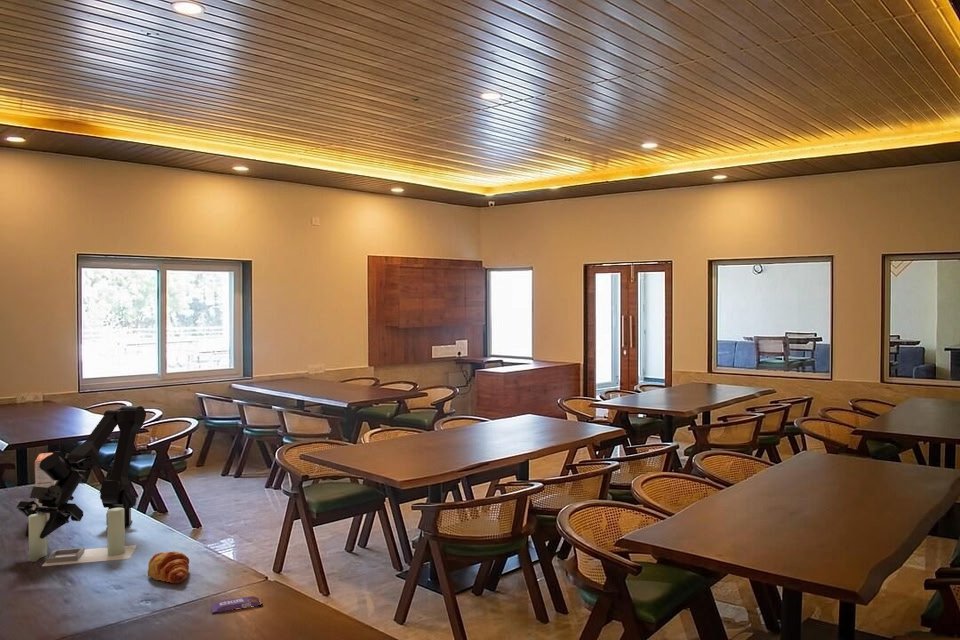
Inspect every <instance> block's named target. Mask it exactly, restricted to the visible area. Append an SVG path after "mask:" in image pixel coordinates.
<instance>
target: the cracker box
mask: <svg viewBox="0 0 960 640" xmlns="http://www.w3.org/2000/svg"><path fill="white" fill-rule="evenodd" d="M51 454H53V452H44V453H43V452H42V453H39V454H38V456H37V458H36V459H35V461H34V485H35V486H34V487H46V488H48V487H50V486H51V485H55V483H56V481H57V480H56V481H54V480H52V479H51V478H50V477H49V476H48V475H47V474H45V473H44V472H43V471H42V470H41V469H40V467H39V465H40V462H41V461H42V460H43V459H44V458H46V457H47V456H49V455H51ZM38 500H39V499H36V498H35V503H37V504H38V505H39V506H42V503H39V502H38ZM46 514H47V522H48V520H49V516H50V514H49V513H46Z"/></svg>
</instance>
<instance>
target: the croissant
mask: <svg viewBox="0 0 960 640" xmlns="http://www.w3.org/2000/svg"><path fill="white" fill-rule="evenodd" d="M189 564H190V558H189V557H188V556H187V555H186V554H185V553H183V552H179V551H165V552H159V553H155V554H153V556H152V557H151V558H150V560H149V562H148V565H147V566H148V567H147V569H148V570H147V576H148V577H149V576H150V577H151V578H152V579H154V580H155V579H157V580H161V581H160V582H165V581H166V582H165V583H168V582H170V583H169V584H178V583H180V582H182V581H183V582H184V580H186V579H187V578H188V575H189V574H188V573H189V570H190V569H189V568H190V565H189ZM185 578H186V579H185ZM157 580H156V581H157Z"/></svg>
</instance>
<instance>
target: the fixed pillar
mask: <svg viewBox="0 0 960 640" xmlns="http://www.w3.org/2000/svg"><path fill="white" fill-rule="evenodd" d="M106 513H107V519H106V526H107V527H106V529H107V548H108V555H110V556H115V555H120V554H123V553H125V546H126V545H125V544H126V542H125V541H126V540H125V539H126V538H125V537H126V536H125V528H126V527H125V526H124V508H112V509H109V510H108V509H107V510H106Z"/></svg>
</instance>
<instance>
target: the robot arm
mask: <svg viewBox="0 0 960 640" xmlns="http://www.w3.org/2000/svg"><path fill="white" fill-rule="evenodd" d="M102 416H103V417H102V418H101V419H100V420H99V421H98V423H97V424H96V426H95V427H94V428H93V430H92V431H91V432H90V434H89V435H88V437H87V438H86V440H85V441H84V442H83V443H81V444H80V445H78V446H76V447H75V448H73V449H72V451H70V452H69V454H68V455H67V456H65V455H64V454H63V453H62V452H61V451H58V450H57V451H56V450H54V451H53V452H52V453H53V454H51V455H49V456H47V457H46V458H44V459H43V460H42V461H41V462H40V465H39V467H40V469H41V470H42V471H43V472H44V473H45V474H47V475H48V476H49V477H50V478H51V479H52V480H54V481H56V480H57V481H56V483H55V485H51V486H50V487H48V488H46V487H35V486H32V489H31V492H30V495H29V499H35V500H36V499H39V500H38V502H39V503H42V506H39V505H38V504H37V503H36V501H34V500H25V499H22V500H20V501H19V502H18V504H17V506H16V509H17V510H18V511H19V512H21V513H22V514H23V515H24V516H25V517H27V518H28V516H30V515H32V514H38V513H49V514H50V516H49V520H48V522H47V523H46V525H45V527H44V529H43V530H42V532H41V535H40V538H41V539H43V538H45V537H46V536H47V537H48V536H49V535H51V533H53V532H54V531H56V530H57V529H59V528H61V527H62V526H64V525H65V524H68V523H70V520H71V521H72V522H81V520H82V519H83V517H84V511H83V510H82V509H81V508H80V506H78V505H77V504H76V503H72V502H69V501H73V500H74V499H75V497H74V496H73V494H74V492H75V491H76V489H77V488H78V486H79V485H80V484H81V485H86V483H87V480H86V478H85V476H86V475H85V474H81V473H80V472H89V471H92V470H93V469H95V468H94V467H95V466H96V464H97V462H98V460H99V458H100V456H99V455H100V450H101V448H102V447H103V446H104V445H105V443H106V442H107V439H108V438H109V437H110V436H111V435H112V433H113V432H114V430H115V428H116V427H118V430H119V435H118V440H117V444H116V449H115V453H114V458H113V463H112V468H111V473H110V476H109V477H108V478H107V479H103V480H102V482H101V487H100V490H99V498H100V500H101V502H102V503H101V504H102V506H103V508H107V510H109V509H112V508H124V526H125V528H129V527H130V526H131V524H132V523H133V520H132V509H133V508H134V507H135V506H136V504H137V498H136V497H135V496H134V495H133V494H132V493H131V483H130V480H129V478H128V476H129V470H130V466H131V460H132V455H133V452H134V451H133V450H134V446H135V441H136V438H137V437H136V436H137V433H138V432H139V431H140V430H141V428H143V426H144V423H145V420H146V418H147V411H146V410H145V408H144V406H142V405H123V406H121V407H119V408H113V409H107V410H105V411H104V413H103V415H102ZM105 515H106V516H105V518H106V520H107V512H106V514H105ZM69 519H70V520H69ZM25 537H26V538H27V539H29V518H28V522H27V526H26V532H25Z"/></svg>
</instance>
